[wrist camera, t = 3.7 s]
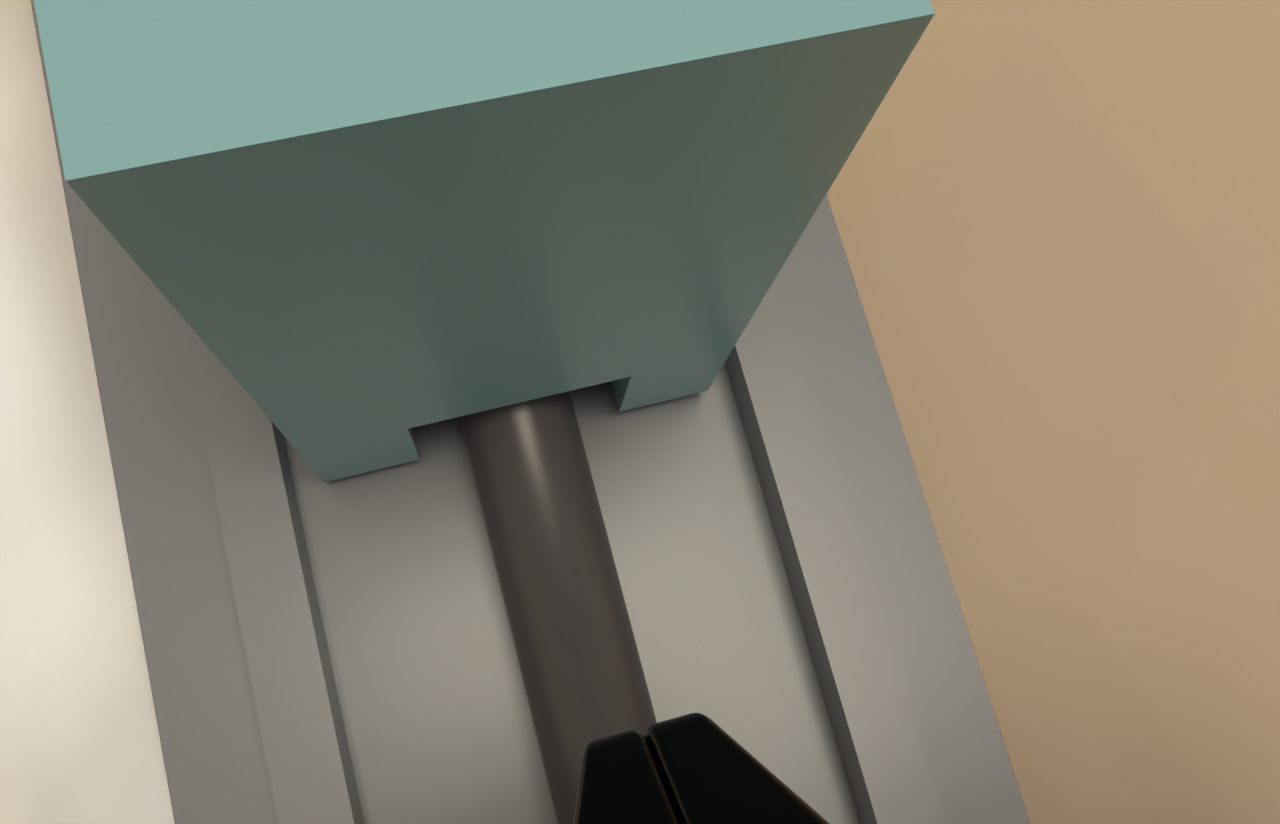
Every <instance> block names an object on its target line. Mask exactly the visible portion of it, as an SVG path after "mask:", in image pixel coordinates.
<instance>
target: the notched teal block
mask: <svg viewBox="0 0 1280 824" xmlns="http://www.w3.org/2000/svg"><path fill="white" fill-rule="evenodd" d="M34 5H35V11H36V17H37V23H38V28H39V34H40V40H41V45H42V51H43V57H44V62H45V68H46V74H47V79H48V85H49V91H50V96H51V102H52V108H53V114H54V119H55V125H56V131H57V136H58V142H59V148H60V153H61V159H62V165H63V170H64V176H65V181H66V182H67V183H68V184H69V186H70V187H71V188H72V189H73V190H74V191H75V193H76V194H77V195H78V196H79V197H80V198H81V200H82V201H83V202H84V203H85V204H86V205H87V207H88V208H89V209H90V210H91V211H92V212H93V214H94V215H95V216H96V217H97V218H98V219H99V221H100V222H101V223H102V224H103V225H104V226H105V228H106V229H107V230H108V231H109V232H110V233H111V235H112V236H113V237H114V238H115V239H116V240H117V242H118V243H119V244H120V245H121V246H122V247H123V249H124V250H125V251H126V252H127V253H128V254H129V256H130V257H131V258H132V259H133V260H134V261H135V263H136V264H137V265H138V266H139V267H140V268H141V270H142V271H143V272H144V273H145V274H146V275H147V277H148V278H149V279H150V280H151V281H152V282H153V284H154V285H155V286H156V287H157V288H158V289H159V291H160V292H161V293H162V294H163V295H164V296H165V298H166V299H167V300H168V301H169V302H170V303H171V305H172V306H173V307H174V308H175V309H176V310H177V312H178V313H179V314H180V315H181V316H182V317H183V319H184V320H185V321H186V322H187V323H188V324H189V326H190V327H191V328H192V329H193V330H194V331H195V333H196V334H197V335H198V336H199V337H200V338H201V339H202V341H203V342H204V343H205V344H206V345H207V346H208V348H209V349H210V350H211V351H212V352H213V353H214V355H215V356H216V357H217V358H218V359H219V360H220V362H221V363H222V364H223V365H224V366H225V367H226V369H227V370H228V371H229V372H230V373H231V374H232V376H233V377H234V378H235V379H236V380H237V381H238V383H239V384H240V385H241V386H242V387H243V388H244V390H245V391H246V392H247V393H248V394H249V395H250V397H251V398H252V399H253V400H254V401H255V402H256V404H257V405H258V406H259V407H260V408H261V409H262V411H263V412H264V413H265V414H266V415H267V416H268V418H269V419H270V420H271V421H272V422H273V423H274V425H275V426H276V427H277V428H278V429H279V430H280V432H281V433H282V434H283V435H284V436H285V437H286V439H287V440H288V441H289V442H290V443H291V444H292V446H293V447H294V448H295V449H296V450H297V451H298V453H299V454H300V455H301V456H302V457H303V458H304V460H305V461H306V462H307V463H308V464H309V465H310V467H311V468H312V469H313V470H314V471H315V472H316V474H317V475H318V476H319V477H320V478H321V479H322V481H323V482H328V481H333V480H337V479H341V478H345V477H349V476H353V475H358V474H362V473H366V472H370V471H374V470H379V469H383V468H387V467H391V466H395V465H399V464H404V463H408V462H412V461H416V460H420V458H419V454H418V449H417V445H416V441H415V437H414V432H413V428H414V427H418V426H422V425H426V424H431V423H435V422H439V421H443V420H448V419H452V418H456V417H460V416H465V415H469V414H473V413H478V412H482V411H486V410H490V409H495V408H499V407H503V406H507V405H512V404H516V403H520V402H524V401H529V400H533V399H537V398H542V397H546V396H550V395H554V394H559V393H563V392H567V391H571V390H576V389H580V388H584V387H588V386H593V385H597V384H601V383H606V382H610V381H611V384H612V388H613V391H614V395H615V399H616V402H617V406H618V410H619V412H621V411H626V410H630V409H634V408H638V407H642V406H646V405H651V404H655V403H659V402H663V401H667V400H672V399H676V398H680V397H684V396H688V395H693V394H697V393H701V392H705V391H708V389H709V388H710V386H711V384H712V383H713V381H714V379H715V378H716V376H717V374H718V373H719V371H720V369H721V368H722V366H723V364H724V363H725V361H726V359H727V358H728V356H729V354H730V353H731V351H732V349H733V348H734V346H735V344H736V343H737V341H738V339H739V338H740V336H741V334H742V333H743V331H744V329H745V328H746V326H747V325H748V323H749V321H750V320H751V318H752V316H753V315H754V313H755V311H756V310H757V308H758V306H759V305H760V303H761V301H762V300H763V298H764V296H765V295H766V293H767V291H768V290H769V288H770V286H771V285H772V283H773V281H774V280H775V278H776V276H777V275H778V273H779V271H780V270H781V268H782V266H783V265H784V263H785V261H786V260H787V258H788V256H789V255H790V253H791V251H792V250H793V248H794V246H795V245H796V243H797V241H798V240H799V238H800V236H801V235H802V233H803V231H804V230H805V228H806V226H807V225H808V223H809V222H810V220H811V218H812V217H813V215H814V213H815V212H816V210H817V208H818V207H819V205H820V203H821V202H822V200H823V198H824V197H825V195H826V193H827V192H828V190H829V188H830V187H831V185H832V183H833V182H834V180H835V178H836V177H837V175H838V173H839V172H840V170H841V168H842V167H843V165H844V163H845V162H846V160H847V158H848V157H849V155H850V153H851V152H852V150H853V148H854V147H855V145H856V143H857V142H858V140H859V138H860V137H861V135H862V133H863V132H864V130H865V128H866V127H867V125H868V123H869V122H870V120H871V118H872V117H873V115H874V114H875V112H876V110H877V109H878V107H879V105H880V104H881V102H882V100H883V99H884V97H885V95H886V94H887V92H888V90H889V89H890V87H891V85H892V84H893V82H894V80H895V79H896V77H897V75H898V74H899V72H900V70H901V69H902V67H903V65H904V64H905V62H906V60H907V59H908V57H909V55H910V54H911V52H912V50H913V49H914V47H915V45H916V44H917V42H918V40H919V39H920V37H921V35H922V34H923V32H924V30H925V29H926V27H927V25H928V24H929V22H930V20H931V19H932V17H933V15H934V11H933V8H932V5H931V2H930V0H34Z"/></svg>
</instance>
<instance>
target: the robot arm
mask: <svg viewBox="0 0 1280 824" xmlns="http://www.w3.org/2000/svg"><path fill="white" fill-rule="evenodd" d="M573 824H830V823H829V822H827V821H826V820H825V819H824V818H823V817H822V816H821V815H819V814H818V813H817V812H816V811H815V810H814V809H813V808H811V807H810V806H809V805H808V804H807V803H806V802H805V801H804V800H802V799H801V798H800V797H799V796H798V795H797V794H796V793H794V792H793V791H792V790H791V789H790V788H789V787H788V786H786V785H785V784H784V783H783V782H782V781H781V780H780V779H778V778H777V777H776V776H775V775H774V774H773V773H772V772H770V771H769V770H768V769H767V768H766V767H765V766H764V765H762V764H761V763H760V762H759V761H758V760H757V759H756V758H755V757H753V756H752V755H751V754H750V753H749V752H748V751H747V750H745V749H744V748H743V747H742V746H741V745H740V744H739V743H737V742H736V741H735V740H734V739H733V738H732V737H731V736H729V735H728V734H727V733H726V732H725V731H724V730H723V729H721V728H720V727H719V726H718V725H717V724H716V723H715V722H714V721H712V720H711V719H710V718H708V717H707V716H706V715H704V714H701V713H690V714H687V715H683V716H680V717H676V718H672V719H669V720H665V721H662V722H658V723H655V724H653V725H651V726H650V727H649V728H648V729H647V730H646V734H645V736H644V734H643V733H642V732H640V731H638V730H630V731H627V732H623V733H620V734H616V735H613V736H609V737H606V738H602V739H599V740H595V741H592V742H590V743H589V744H588V745H587V746H586V747H585V749H584V751H583V755H582V762H581V769H580V776H579V783H578V790H577V798H576V805H575V812H574V819H573Z"/></svg>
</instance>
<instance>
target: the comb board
mask: <svg viewBox="0 0 1280 824" xmlns="http://www.w3.org/2000/svg"><path fill="white" fill-rule="evenodd" d="M31 4H32V10H33V16H34V22H35V27H36V33H37V39H38V44H39V50H40V56H41V62H42V67H43V73H44V79H45V84H46V90H47V96H48V101H49V107H50V113H51V119H52V124H53V130H54V136H55V141H56V147H57V153H58V159H59V164H60V170H61V176H62V181H63V187H64V193H65V199H66V204H67V210H68V216H69V221H70V227H71V233H72V238H73V244H74V250H75V256H76V261H77V267H78V273H79V278H80V284H81V290H82V296H83V301H84V307H85V313H86V318H87V324H88V330H89V335H90V341H91V347H92V353H93V358H94V364H95V370H96V375H97V381H98V387H99V393H100V398H101V404H102V410H103V415H104V421H105V427H106V433H107V438H108V444H109V450H110V455H111V461H112V467H113V472H114V478H115V484H116V490H117V495H118V501H119V507H120V512H121V518H122V524H123V530H124V535H125V541H126V547H127V552H128V558H129V564H130V570H131V575H132V581H133V587H134V592H135V598H136V604H137V609H138V615H139V621H140V627H141V632H142V638H143V644H144V649H145V655H146V661H147V667H148V672H149V678H150V684H151V689H152V695H153V701H154V706H155V712H156V718H157V724H158V729H159V735H160V741H161V746H162V752H163V758H164V764H165V769H166V775H167V781H168V786H169V792H170V798H171V804H172V809H173V815H174V821H175V824H573V819H574V812H575V805H576V798H577V790H578V783H579V776H580V769H581V762H582V755H583V751H584V749H585V747H586V746H587V745H588V744H589V743H590V742H592V741H595V740H599V739H602V738H606V737H609V736H613V735H616V734H620V733H623V732H627V731H630V730H638V731H640V732H642V733H643V734H644V736H645V734H646V730H647V729H648V728H649V727H650V726H651V725H653V724H655V723H658V722H662V721H665V720H669V719H672V718H676V717H680V716H683V715H687V714H690V713H701V714H704V715H706V716H707V717H708V718H710V719H711V720H712V721H714V722H715V723H716V724H717V725H718V726H719V727H720V728H721V729H723V730H724V731H725V732H726V733H727V734H728V735H729V736H731V737H732V738H733V739H734V740H735V741H736V742H737V743H739V744H740V745H741V746H742V747H743V748H744V749H745V750H747V751H748V752H749V753H750V754H751V755H752V756H753V757H755V758H756V759H757V760H758V761H759V762H760V763H761V764H762V765H764V766H765V767H766V768H767V769H768V770H769V771H770V772H772V773H773V774H774V775H775V776H776V777H777V778H778V779H780V780H781V781H782V782H783V783H784V784H785V785H786V786H788V787H789V788H790V789H791V790H792V791H793V792H794V793H796V794H797V795H798V796H799V797H800V798H801V799H802V800H804V801H805V802H806V803H807V804H808V805H809V806H810V807H811V808H813V809H814V810H815V811H816V812H817V813H818V814H819V815H821V816H822V817H823V818H824V819H825V820H826V821H827V822H829V823H830V824H1030V822H1029V819H1028V815H1027V812H1026V809H1025V806H1024V803H1023V800H1022V797H1021V794H1020V791H1019V788H1018V785H1017V781H1016V778H1015V775H1014V772H1013V769H1012V766H1011V763H1010V760H1009V757H1008V754H1007V751H1006V748H1005V744H1004V741H1003V738H1002V735H1001V732H1000V729H999V726H998V723H997V720H996V717H995V714H994V710H993V707H992V704H991V701H990V698H989V695H988V692H987V689H986V686H985V683H984V680H983V677H982V673H981V670H980V667H979V664H978V661H977V658H976V655H975V652H974V649H973V646H972V643H971V640H970V636H969V633H968V630H967V627H966V624H965V621H964V618H963V615H962V612H961V609H960V606H959V602H958V599H957V596H956V593H955V590H954V587H953V584H952V581H951V578H950V575H949V572H948V569H947V565H946V562H945V559H944V556H943V553H942V550H941V547H940V544H939V541H938V538H937V535H936V531H935V528H934V525H933V522H932V519H931V516H930V513H929V510H928V507H927V504H926V501H925V498H924V494H923V491H922V488H921V485H920V482H919V479H918V476H917V473H916V470H915V467H914V464H913V460H912V457H911V454H910V451H909V448H908V445H907V442H906V439H905V436H904V433H903V430H902V427H901V423H900V420H899V417H898V414H897V411H896V408H895V405H894V402H893V399H892V396H891V393H890V389H889V386H888V383H887V380H886V377H885V374H884V371H883V368H882V365H881V362H880V359H879V356H878V352H877V349H876V346H875V343H874V340H873V337H872V334H871V331H870V328H869V325H868V322H867V319H866V315H865V312H864V309H863V306H862V303H861V300H860V297H859V294H858V291H857V288H856V285H855V281H854V278H853V275H852V272H851V269H850V266H849V263H848V260H847V257H846V254H845V251H844V248H843V244H842V241H841V238H840V235H839V232H838V229H837V226H836V223H835V220H834V217H833V214H832V210H831V207H830V204H829V201H828V198H827V195H825V197H824V198H823V200H822V202H821V203H820V205H819V207H818V208H817V210H816V212H815V213H814V215H813V217H812V218H811V220H810V222H809V223H808V225H807V226H806V228H805V230H804V231H803V233H802V235H801V236H800V238H799V240H798V241H797V243H796V245H795V246H794V248H793V250H792V251H791V253H790V255H789V256H788V258H787V260H786V261H785V263H784V265H783V266H782V268H781V270H780V271H779V273H778V275H777V276H776V278H775V280H774V281H773V283H772V285H771V286H770V288H769V290H768V291H767V293H766V295H765V296H764V298H763V300H762V301H761V303H760V305H759V306H758V308H757V310H756V311H755V313H754V315H753V316H752V318H751V320H750V321H749V323H748V325H747V326H746V328H745V329H744V331H743V333H742V334H741V336H740V338H739V339H738V341H737V343H736V344H735V346H734V348H733V349H732V351H731V353H730V354H729V356H728V358H727V359H726V361H725V363H724V364H723V366H722V368H721V369H720V371H719V373H718V374H717V376H716V378H715V379H714V381H713V383H712V384H711V386H710V388H709V389H708V391H705V392H701V393H697V394H693V395H688V396H684V397H680V398H676V399H672V400H667V401H663V402H659V403H655V404H651V405H646V406H642V407H638V408H634V409H630V410H626V411H621V412H619V410H618V406H617V402H616V399H615V395H614V391H613V388H612V384H611V381H610V382H606V383H601V384H597V385H593V386H588V387H584V388H580V389H576V390H571V391H567V392H563V393H559V394H554V395H550V396H546V397H542V398H537V399H533V400H529V401H524V402H520V403H516V404H512V405H507V406H503V407H499V408H495V409H490V410H486V411H482V412H478V413H473V414H469V415H465V416H460V417H456V418H452V419H448V420H443V421H439V422H435V423H431V424H426V425H422V426H418V427H414V428H413V432H414V437H415V441H416V445H417V449H418V454H419V458H420V460H416V461H412V462H408V463H404V464H399V465H395V466H391V467H387V468H383V469H379V470H374V471H370V472H366V473H362V474H358V475H353V476H349V477H345V478H341V479H337V480H333V481H328V482H323V481H322V479H321V478H320V477H319V476H318V475H317V474H316V472H315V471H314V470H313V469H312V468H311V467H310V465H309V464H308V463H307V462H306V461H305V460H304V458H303V457H302V456H301V455H300V454H299V453H298V451H297V450H296V449H295V448H294V447H293V446H292V444H291V443H290V442H289V441H288V440H287V439H286V437H285V436H284V435H283V434H282V433H281V432H280V430H279V429H278V428H277V427H276V426H275V425H274V423H273V422H272V421H271V420H270V419H269V418H268V416H267V415H266V414H265V413H264V412H263V411H262V409H261V408H260V407H259V406H258V405H257V404H256V402H255V401H254V400H253V399H252V398H251V397H250V395H249V394H248V393H247V392H246V391H245V390H244V388H243V387H242V386H241V385H240V384H239V383H238V381H237V380H236V379H235V378H234V377H233V376H232V374H231V373H230V372H229V371H228V370H227V369H226V367H225V366H224V365H223V364H222V363H221V362H220V360H219V359H218V358H217V357H216V356H215V355H214V353H213V352H212V351H211V350H210V349H209V348H208V346H207V345H206V344H205V343H204V342H203V341H202V339H201V338H200V337H199V336H198V335H197V334H196V333H195V331H194V330H193V329H192V328H191V327H190V326H189V324H188V323H187V322H186V321H185V320H184V319H183V317H182V316H181V315H180V314H179V313H178V312H177V310H176V309H175V308H174V307H173V306H172V305H171V303H170V302H169V301H168V300H167V299H166V298H165V296H164V295H163V294H162V293H161V292H160V291H159V289H158V288H157V287H156V286H155V285H154V284H153V282H152V281H151V280H150V279H149V278H148V277H147V275H146V274H145V273H144V272H143V271H142V270H141V268H140V267H139V266H138V265H137V264H136V263H135V261H134V260H133V259H132V258H131V257H130V256H129V254H128V253H127V252H126V251H125V250H124V249H123V247H122V246H121V245H120V244H119V243H118V242H117V240H116V239H115V238H114V237H113V236H112V235H111V233H110V232H109V231H108V230H107V229H106V228H105V226H104V225H103V224H102V223H101V222H100V221H99V219H98V218H97V217H96V216H95V215H94V214H93V212H92V211H91V210H90V209H89V208H88V207H87V205H86V204H85V203H84V202H83V201H82V200H81V198H80V197H79V196H78V195H77V194H76V193H75V191H74V190H73V189H72V188H71V187H70V186H69V184H68V183H67V182H66V181H65V176H64V170H63V165H62V159H61V153H60V148H59V142H58V136H57V131H56V125H55V119H54V114H53V108H52V102H51V96H50V91H49V85H48V79H47V74H46V68H45V62H44V57H43V51H42V45H41V40H40V34H39V28H38V23H37V17H36V11H35V5H34V0H31Z"/></svg>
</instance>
